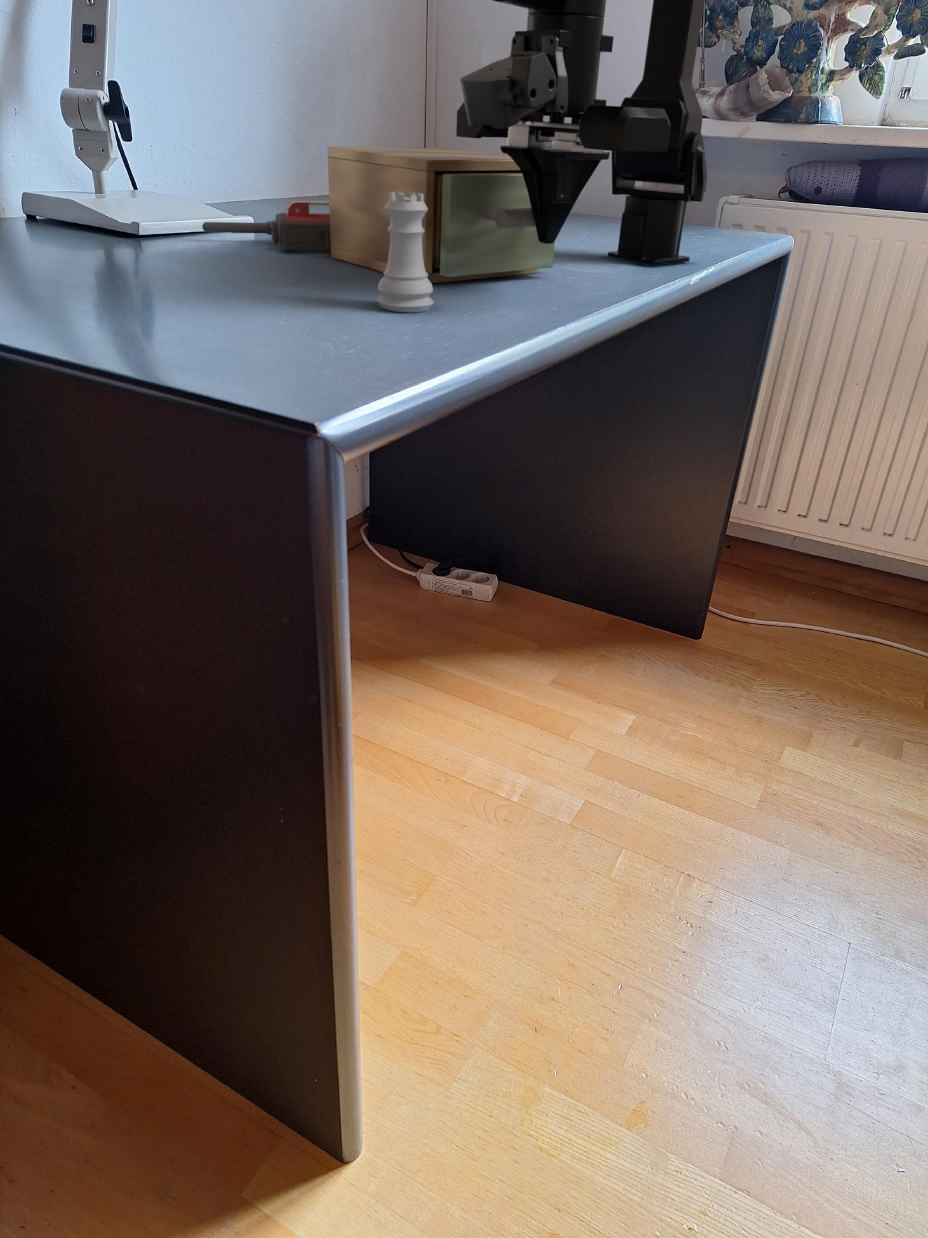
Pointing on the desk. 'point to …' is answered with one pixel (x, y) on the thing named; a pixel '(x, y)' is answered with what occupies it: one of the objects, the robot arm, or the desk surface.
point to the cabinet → (365, 191)
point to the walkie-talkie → (288, 228)
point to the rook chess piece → (405, 257)
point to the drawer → (485, 224)
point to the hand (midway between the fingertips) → (546, 242)
